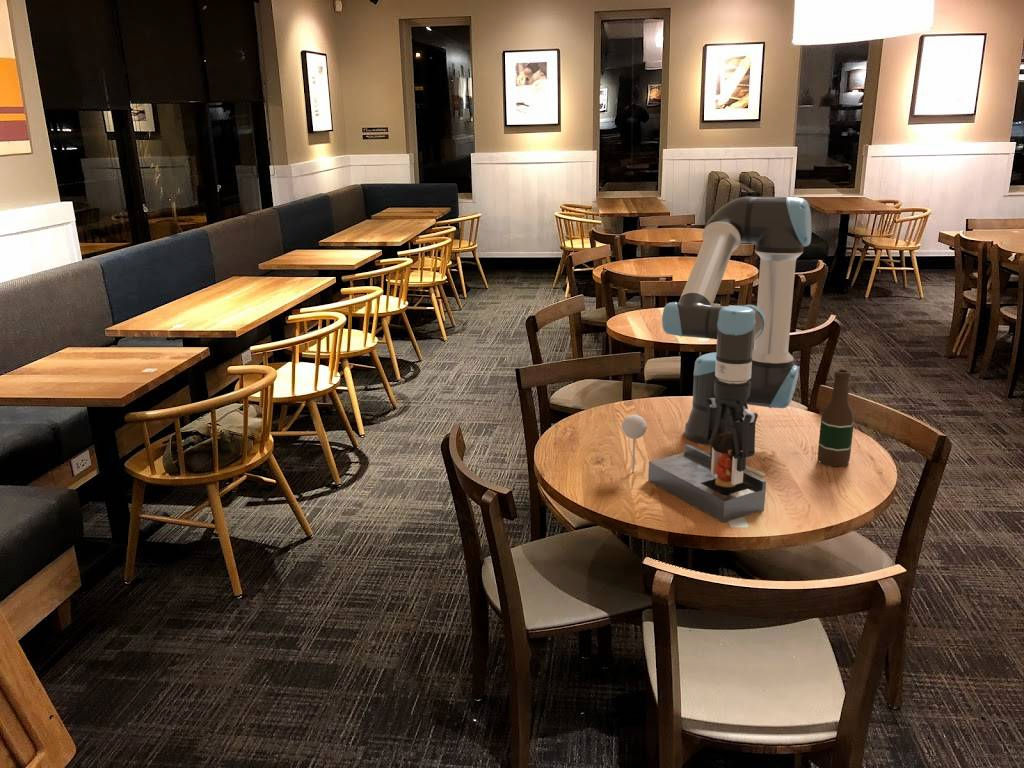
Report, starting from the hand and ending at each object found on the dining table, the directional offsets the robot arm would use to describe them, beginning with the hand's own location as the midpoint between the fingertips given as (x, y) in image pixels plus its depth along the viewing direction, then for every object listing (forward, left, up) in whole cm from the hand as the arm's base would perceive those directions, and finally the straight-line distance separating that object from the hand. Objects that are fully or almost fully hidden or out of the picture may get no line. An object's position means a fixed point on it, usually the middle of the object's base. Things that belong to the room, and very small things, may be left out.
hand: (726, 477), depth 182 cm
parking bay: (-13, +14, -7) cm, 20 cm away
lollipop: (-26, -6, -7) cm, 28 cm away
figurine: (0, 0, -2) cm, 2 cm away
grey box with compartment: (-7, 0, -7) cm, 10 cm away
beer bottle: (-5, +41, -7) cm, 42 cm away
